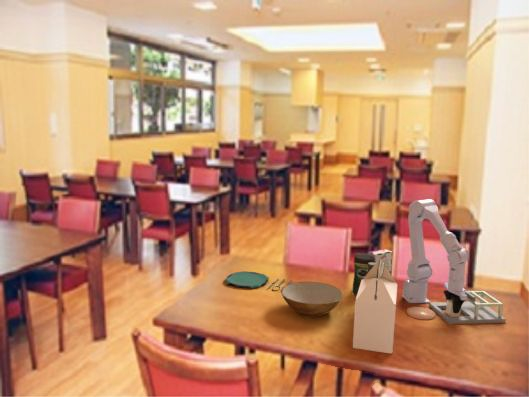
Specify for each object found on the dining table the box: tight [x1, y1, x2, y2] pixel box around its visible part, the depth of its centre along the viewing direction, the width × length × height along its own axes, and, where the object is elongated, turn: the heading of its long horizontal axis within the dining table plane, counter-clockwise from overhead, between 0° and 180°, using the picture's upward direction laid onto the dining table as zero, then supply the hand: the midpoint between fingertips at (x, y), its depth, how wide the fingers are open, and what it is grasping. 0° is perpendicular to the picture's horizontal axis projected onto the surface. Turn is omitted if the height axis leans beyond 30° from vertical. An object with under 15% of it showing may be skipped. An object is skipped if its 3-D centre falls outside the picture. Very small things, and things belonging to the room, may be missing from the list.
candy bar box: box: [367, 248, 393, 275], centre depth 228 cm, size 11×5×16 cm, turn 119°
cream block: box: [445, 300, 461, 317], centre depth 197 cm, size 4×4×6 cm
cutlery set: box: [224, 270, 292, 292], centre depth 228 cm, size 20×30×2 cm, turn 69°
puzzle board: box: [428, 300, 507, 325], centre depth 198 cm, size 23×18×2 cm
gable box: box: [352, 257, 398, 355], centre depth 173 cm, size 22×13×28 cm, turn 164°
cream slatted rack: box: [464, 289, 504, 317], centre depth 198 cm, size 11×14×7 cm
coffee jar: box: [351, 252, 376, 296], centre depth 216 cm, size 10×8×19 cm
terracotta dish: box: [406, 306, 437, 321], centre depth 197 cm, size 11×11×1 cm
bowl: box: [280, 281, 344, 317], centre depth 197 cm, size 25×25×8 cm
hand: (453, 310), depth 197 cm, fingers closed on cream block, 4 cm apart
